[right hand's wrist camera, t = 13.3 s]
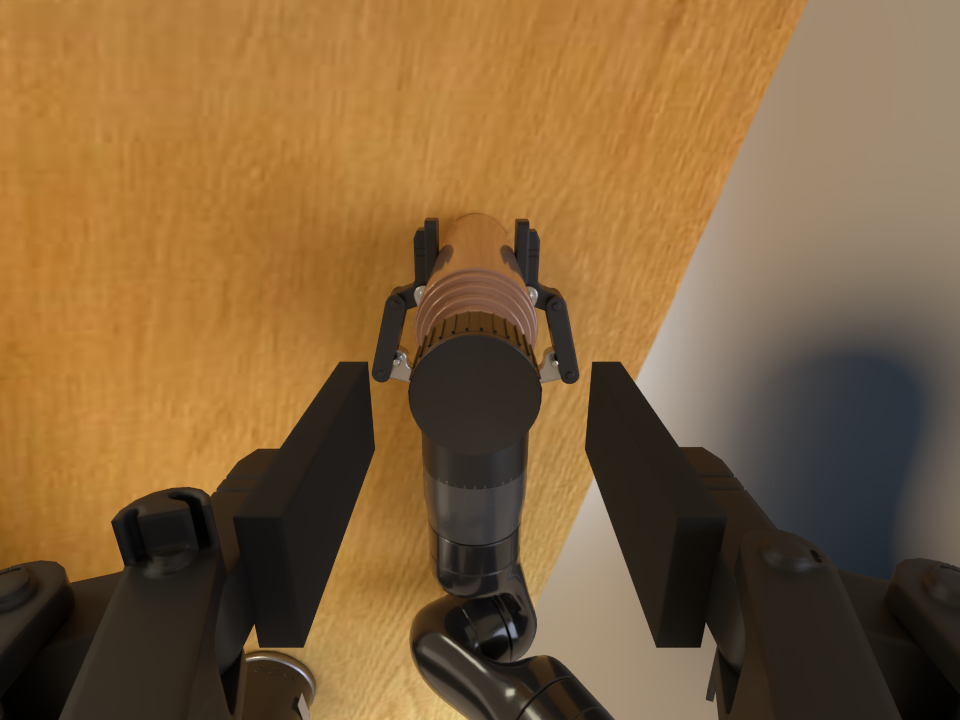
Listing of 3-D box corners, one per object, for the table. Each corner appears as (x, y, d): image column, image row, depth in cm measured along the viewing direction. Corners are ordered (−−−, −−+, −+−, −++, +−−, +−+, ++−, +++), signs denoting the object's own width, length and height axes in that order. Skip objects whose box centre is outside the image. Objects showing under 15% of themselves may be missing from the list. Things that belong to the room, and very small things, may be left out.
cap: (514, 292, 16) (520, 314, 14) (549, 401, 17) (559, 435, 15) (397, 331, 16) (385, 357, 14) (439, 434, 18) (435, 472, 15)
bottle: (497, 204, 37) (531, 287, 14) (517, 267, 39) (578, 438, 15) (435, 226, 38) (364, 342, 14) (457, 287, 40) (426, 482, 16)
